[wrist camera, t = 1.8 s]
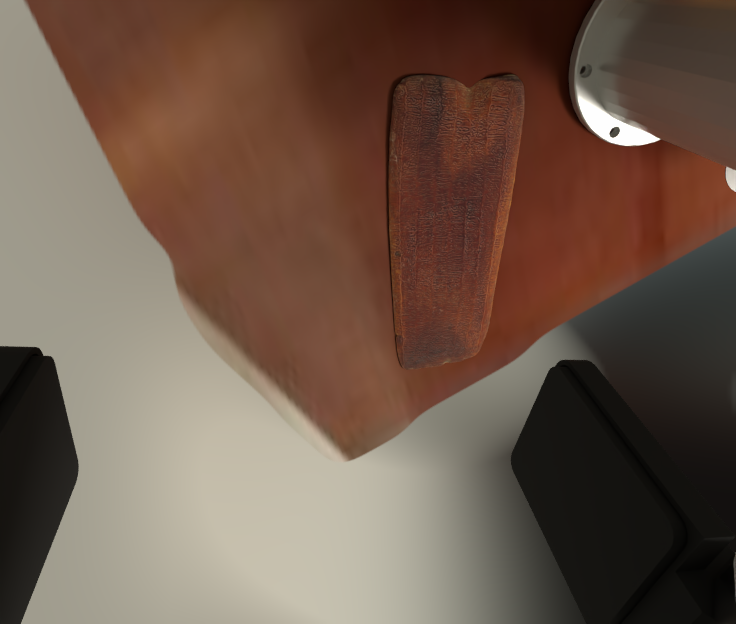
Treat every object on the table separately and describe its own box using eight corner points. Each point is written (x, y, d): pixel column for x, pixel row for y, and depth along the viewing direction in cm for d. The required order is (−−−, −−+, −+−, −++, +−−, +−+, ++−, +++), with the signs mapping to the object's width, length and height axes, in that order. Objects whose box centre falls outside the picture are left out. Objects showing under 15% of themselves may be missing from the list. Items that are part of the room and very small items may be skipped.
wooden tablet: (386, 75, 35) (391, 79, 33) (523, 68, 36) (533, 72, 34) (386, 369, 49) (389, 380, 48) (483, 357, 51) (488, 368, 49)
